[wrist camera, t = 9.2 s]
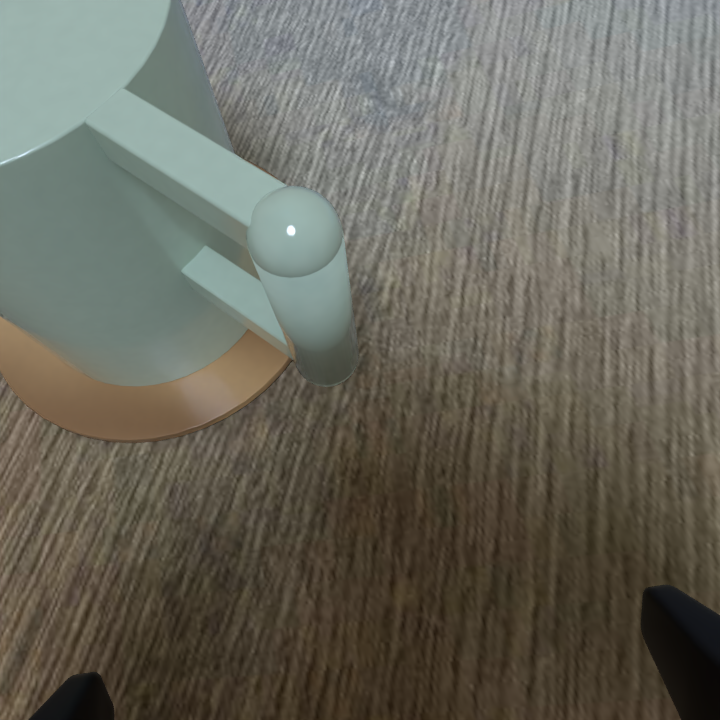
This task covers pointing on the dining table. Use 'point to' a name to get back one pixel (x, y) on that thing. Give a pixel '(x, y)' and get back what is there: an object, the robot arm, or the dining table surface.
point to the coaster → (137, 390)
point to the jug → (150, 207)
